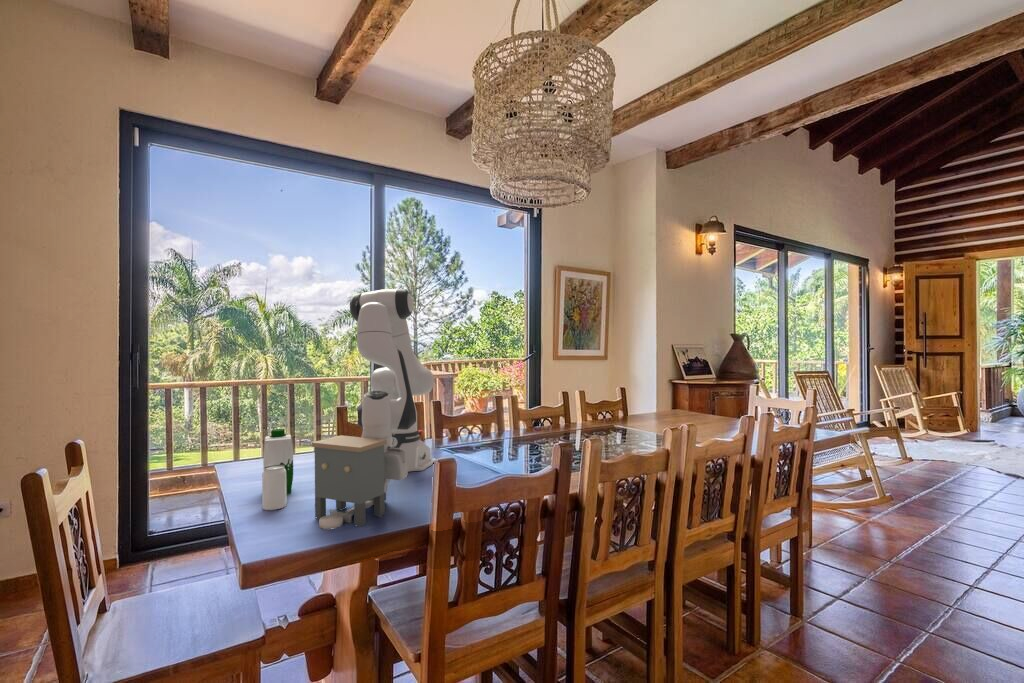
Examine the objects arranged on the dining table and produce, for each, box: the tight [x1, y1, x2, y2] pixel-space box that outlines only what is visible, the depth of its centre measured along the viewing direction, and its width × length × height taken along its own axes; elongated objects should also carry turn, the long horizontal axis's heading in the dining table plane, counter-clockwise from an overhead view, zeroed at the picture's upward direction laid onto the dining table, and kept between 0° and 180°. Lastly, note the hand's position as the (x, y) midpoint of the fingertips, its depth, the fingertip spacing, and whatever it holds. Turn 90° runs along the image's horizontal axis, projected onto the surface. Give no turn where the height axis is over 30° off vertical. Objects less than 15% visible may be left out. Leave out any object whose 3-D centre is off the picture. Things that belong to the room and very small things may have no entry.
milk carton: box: [262, 428, 294, 495], centre depth 164 cm, size 9×9×20 cm
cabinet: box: [311, 434, 387, 527], centre depth 141 cm, size 11×17×21 cm, turn 66°
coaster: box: [318, 514, 344, 530], centre depth 135 cm, size 6×6×2 cm
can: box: [261, 465, 288, 511], centre depth 149 cm, size 6×6×12 cm
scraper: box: [329, 491, 387, 524], centre depth 146 cm, size 18×7×7 cm, turn 156°
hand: (377, 491), depth 152 cm, fingers closed on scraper, 3 cm apart
